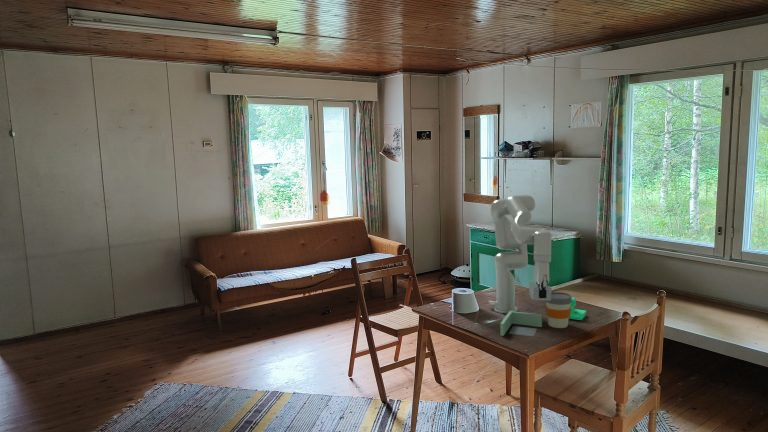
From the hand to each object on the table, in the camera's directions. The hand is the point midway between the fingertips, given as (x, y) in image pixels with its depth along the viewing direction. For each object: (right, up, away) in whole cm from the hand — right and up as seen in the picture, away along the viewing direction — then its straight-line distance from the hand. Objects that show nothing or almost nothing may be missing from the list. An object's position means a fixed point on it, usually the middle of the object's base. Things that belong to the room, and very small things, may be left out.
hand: (541, 296), depth 244 cm
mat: (-6, -18, +9) cm, 21 cm away
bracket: (0, -1, +3) cm, 3 cm away
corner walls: (-7, -18, +10) cm, 22 cm away
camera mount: (+25, -15, +27) cm, 40 cm away
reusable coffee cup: (+13, -17, +17) cm, 27 cm away
